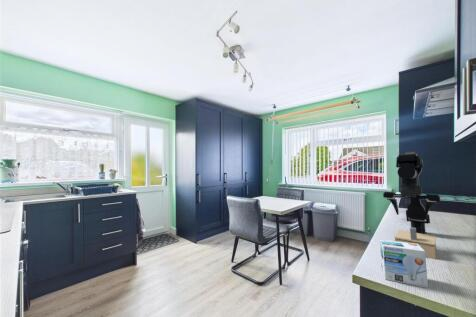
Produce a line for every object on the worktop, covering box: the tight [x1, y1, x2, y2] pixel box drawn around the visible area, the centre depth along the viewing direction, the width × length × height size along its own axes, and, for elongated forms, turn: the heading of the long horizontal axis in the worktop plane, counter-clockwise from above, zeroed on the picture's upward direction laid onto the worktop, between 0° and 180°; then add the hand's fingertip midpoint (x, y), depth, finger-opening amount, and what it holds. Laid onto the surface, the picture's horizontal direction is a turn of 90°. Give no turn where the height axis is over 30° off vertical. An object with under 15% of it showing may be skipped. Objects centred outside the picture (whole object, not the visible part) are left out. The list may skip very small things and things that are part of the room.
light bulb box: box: [379, 239, 429, 289], centre depth 63 cm, size 11×7×11 cm, turn 62°
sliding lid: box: [393, 226, 437, 245], centre depth 84 cm, size 12×12×5 cm
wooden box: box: [394, 238, 437, 260], centre depth 83 cm, size 12×12×5 cm
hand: (411, 216), depth 86 cm, fingers open, 9 cm apart
